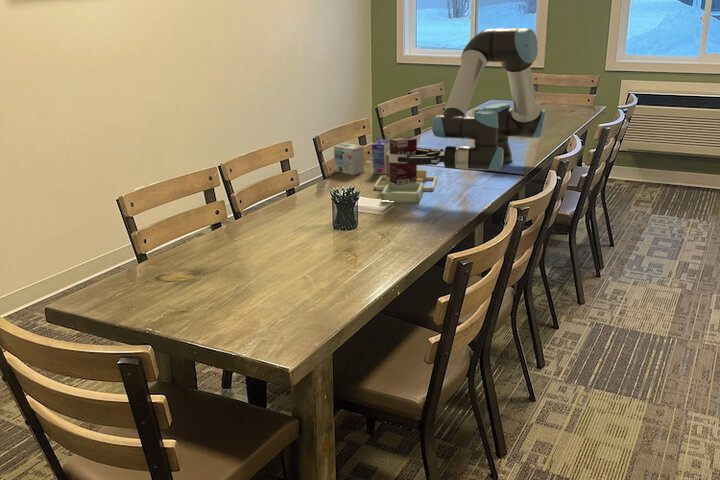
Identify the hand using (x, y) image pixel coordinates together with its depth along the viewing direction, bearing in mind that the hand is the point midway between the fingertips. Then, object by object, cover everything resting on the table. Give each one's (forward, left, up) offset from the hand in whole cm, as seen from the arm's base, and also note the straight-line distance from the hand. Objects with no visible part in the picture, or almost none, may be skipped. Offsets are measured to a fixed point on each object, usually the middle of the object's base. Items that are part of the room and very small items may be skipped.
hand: (392, 155), depth 238 cm
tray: (-4, 0, -15) cm, 15 cm away
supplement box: (-4, 0, -10) cm, 11 cm away
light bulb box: (+23, -34, -15) cm, 43 cm away
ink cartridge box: (+9, -35, -15) cm, 39 cm away
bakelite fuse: (+2, -16, -15) cm, 22 cm away
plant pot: (-30, -112, -15) cm, 117 cm away
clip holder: (-3, -16, -15) cm, 22 cm away
